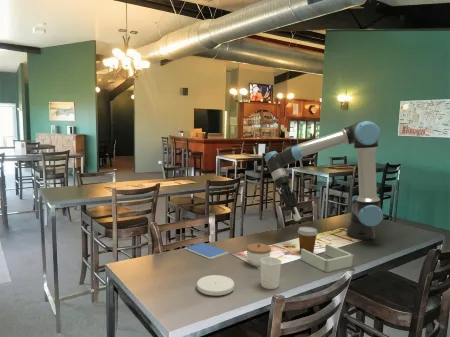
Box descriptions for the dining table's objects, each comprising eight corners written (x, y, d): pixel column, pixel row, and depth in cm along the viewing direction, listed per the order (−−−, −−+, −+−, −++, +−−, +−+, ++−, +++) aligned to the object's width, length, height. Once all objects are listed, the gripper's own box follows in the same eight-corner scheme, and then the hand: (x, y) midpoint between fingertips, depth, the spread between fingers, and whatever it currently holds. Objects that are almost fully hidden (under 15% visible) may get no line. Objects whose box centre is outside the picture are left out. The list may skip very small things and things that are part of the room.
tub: (326, 253, 174) (327, 244, 173) (353, 265, 160) (354, 255, 159) (300, 259, 166) (301, 249, 165) (326, 272, 152) (326, 261, 151)
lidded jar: (254, 270, 153) (255, 249, 152) (241, 261, 162) (242, 241, 161) (275, 266, 158) (275, 245, 157) (261, 258, 167) (262, 238, 166)
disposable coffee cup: (317, 257, 169) (318, 232, 168) (296, 255, 171) (297, 231, 169) (316, 250, 178) (317, 227, 177) (296, 248, 180) (297, 225, 179)
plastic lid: (189, 291, 133) (189, 285, 133) (210, 278, 145) (210, 272, 145) (221, 301, 126) (221, 295, 125) (240, 286, 138) (240, 280, 137)
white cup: (257, 281, 142) (258, 257, 141) (277, 280, 143) (278, 256, 142) (261, 290, 134) (262, 264, 133) (282, 289, 135) (283, 264, 134)
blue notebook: (183, 249, 178) (183, 247, 177) (202, 244, 186) (202, 241, 186) (209, 260, 164) (209, 258, 164) (229, 254, 173) (229, 251, 173)
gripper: (282, 182, 196) (299, 222, 187) (268, 181, 186) (285, 223, 177) (292, 176, 192) (310, 216, 183) (279, 174, 182) (297, 217, 173)
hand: (298, 219), depth 180 cm, fingers closed
